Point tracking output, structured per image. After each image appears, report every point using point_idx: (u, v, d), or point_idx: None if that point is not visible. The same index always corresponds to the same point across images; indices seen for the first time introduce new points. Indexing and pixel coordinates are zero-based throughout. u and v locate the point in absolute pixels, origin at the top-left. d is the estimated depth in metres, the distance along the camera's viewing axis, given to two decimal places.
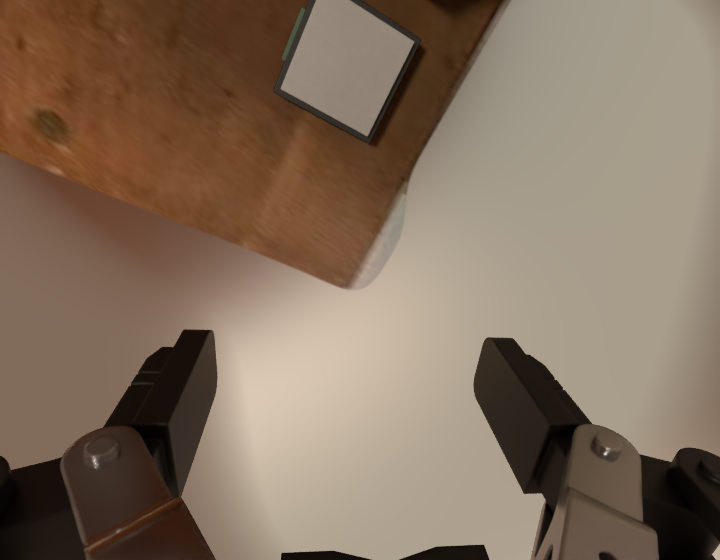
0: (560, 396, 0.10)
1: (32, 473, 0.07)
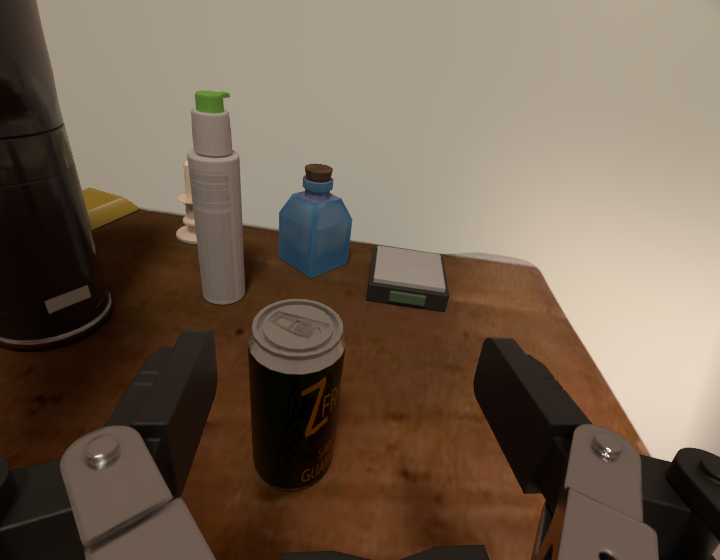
0: (560, 396, 0.10)
1: (32, 473, 0.07)
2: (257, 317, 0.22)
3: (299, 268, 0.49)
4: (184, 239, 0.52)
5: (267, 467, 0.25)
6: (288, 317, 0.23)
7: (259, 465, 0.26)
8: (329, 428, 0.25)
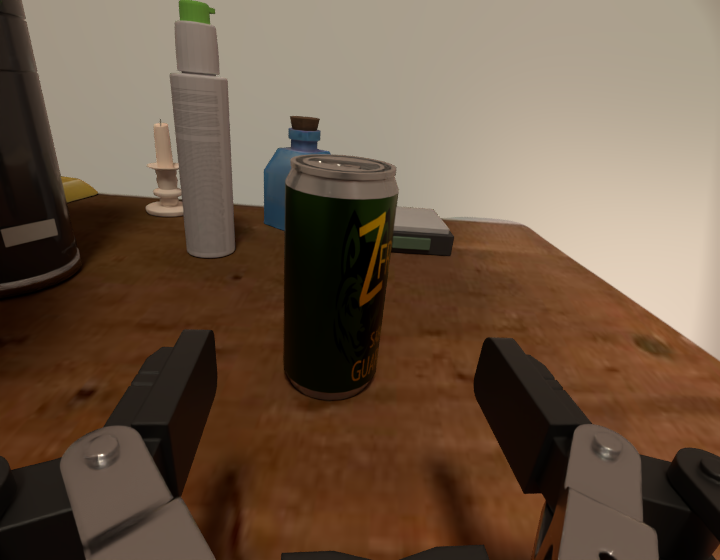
0: (560, 396, 0.10)
1: (31, 474, 0.07)
2: (294, 158, 0.19)
3: None
4: (156, 211, 0.46)
5: (310, 363, 0.20)
6: (328, 163, 0.19)
7: (297, 368, 0.21)
8: (381, 304, 0.21)
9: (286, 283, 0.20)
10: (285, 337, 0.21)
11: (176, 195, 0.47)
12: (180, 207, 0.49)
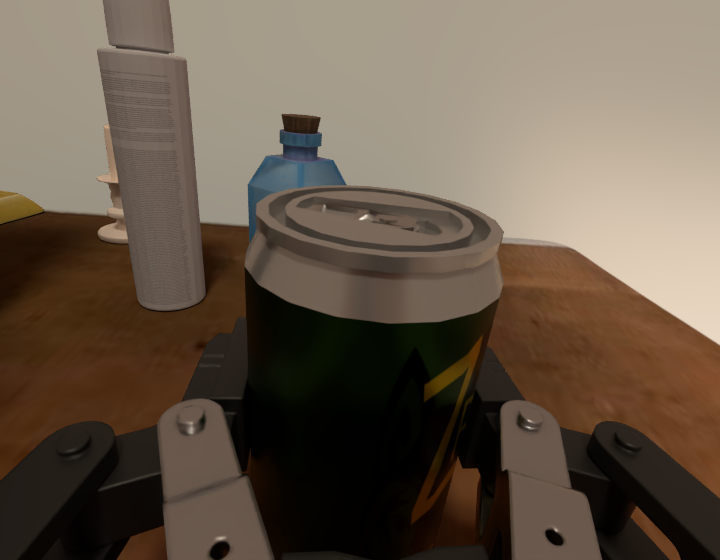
0: (500, 377, 0.11)
1: (127, 441, 0.08)
2: (265, 202, 0.08)
3: None
4: (110, 237, 0.36)
5: None
6: (341, 209, 0.09)
7: None
8: (448, 490, 0.10)
9: (253, 457, 0.10)
10: None
11: None
12: None
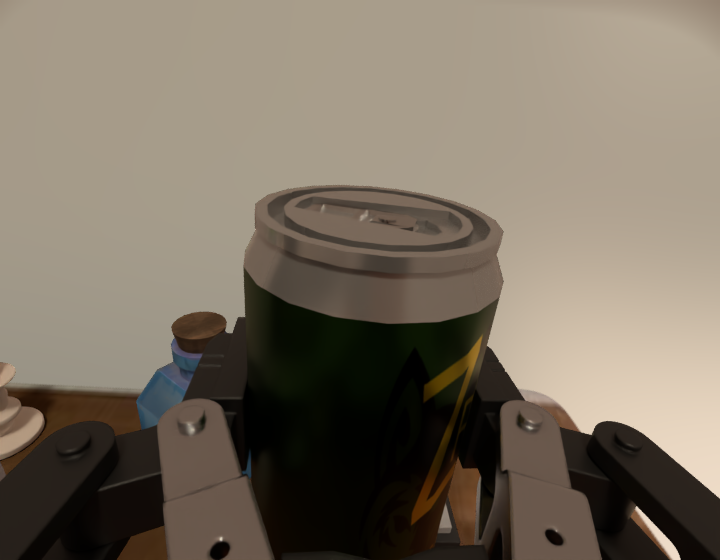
0: (500, 377, 0.11)
1: (127, 441, 0.08)
2: (264, 202, 0.08)
3: None
4: None
5: None
6: (341, 209, 0.09)
7: None
8: (448, 490, 0.10)
9: (252, 458, 0.10)
10: None
11: (2, 424, 0.29)
12: (16, 432, 0.30)
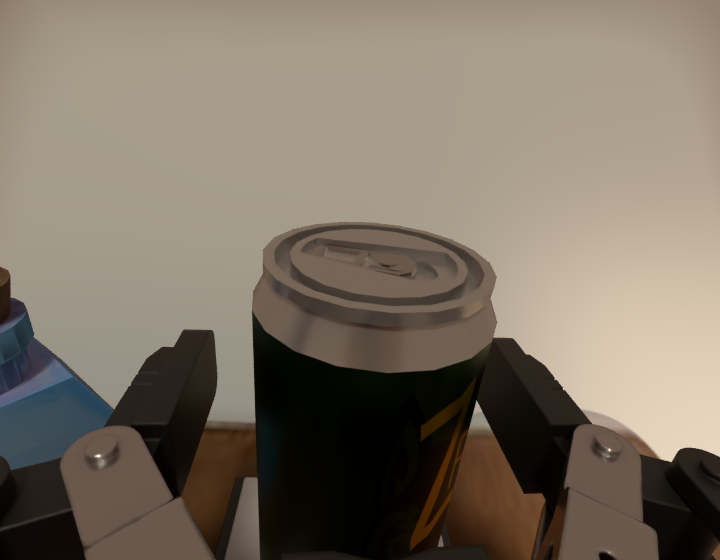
0: (560, 396, 0.10)
1: (32, 474, 0.07)
2: (271, 247, 0.09)
3: None
4: None
5: None
6: (344, 250, 0.09)
7: None
8: None
9: (259, 484, 0.10)
10: None
11: None
12: None
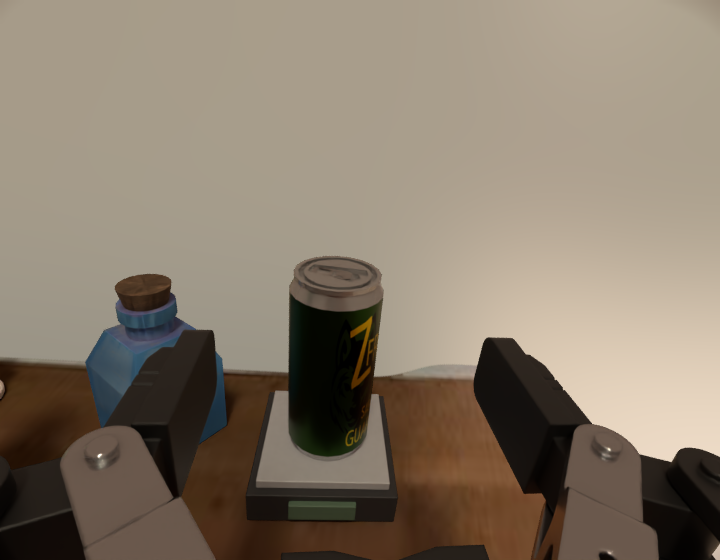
0: (560, 396, 0.10)
1: (32, 473, 0.07)
2: (296, 268, 0.23)
3: None
4: None
5: (310, 433, 0.24)
6: (325, 269, 0.23)
7: (299, 435, 0.25)
8: (370, 383, 0.24)
9: (290, 367, 0.24)
10: (289, 408, 0.25)
11: None
12: None
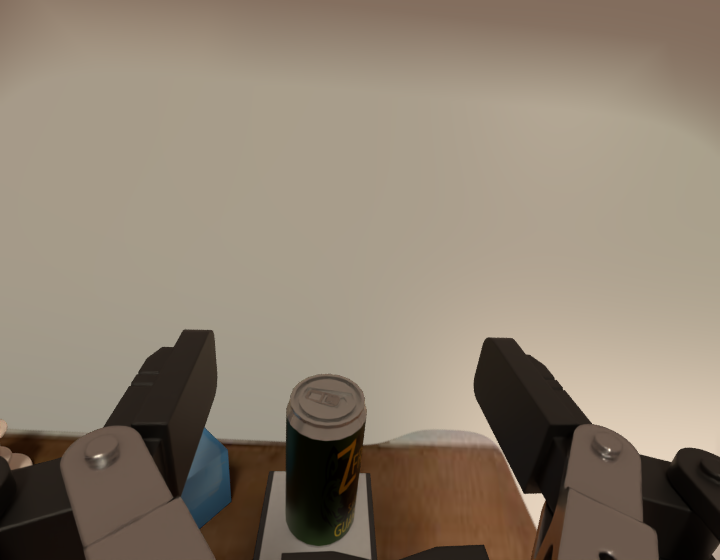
0: (560, 396, 0.10)
1: (32, 473, 0.07)
2: (292, 395, 0.27)
3: None
4: None
5: (304, 527, 0.28)
6: (317, 391, 0.27)
7: (295, 527, 0.29)
8: (356, 484, 0.29)
9: (287, 472, 0.28)
10: (286, 503, 0.29)
11: None
12: None
